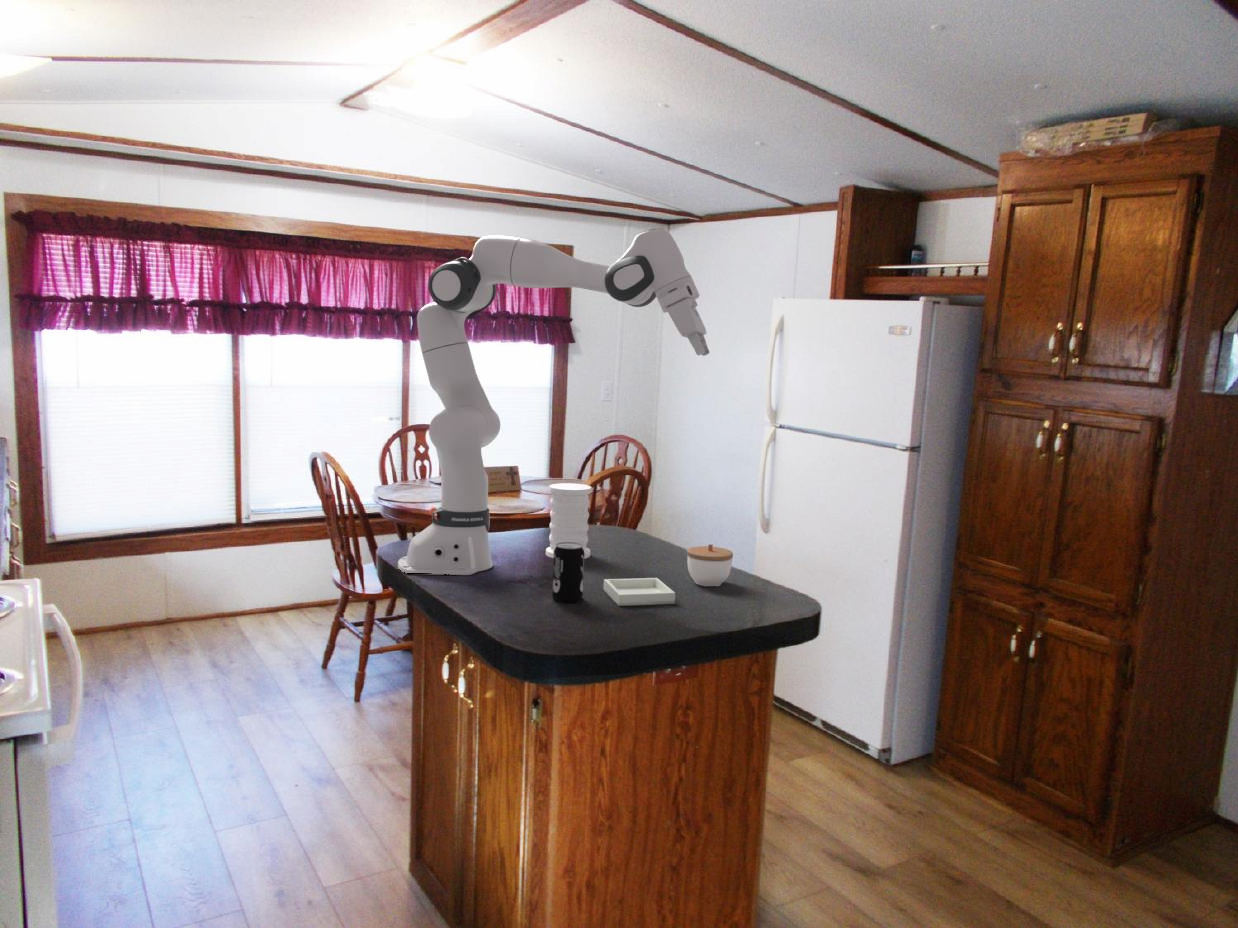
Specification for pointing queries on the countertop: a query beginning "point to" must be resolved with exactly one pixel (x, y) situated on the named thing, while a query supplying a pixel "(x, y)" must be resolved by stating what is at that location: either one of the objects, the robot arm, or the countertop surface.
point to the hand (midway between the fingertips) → (703, 354)
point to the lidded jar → (709, 564)
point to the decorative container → (569, 515)
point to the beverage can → (568, 572)
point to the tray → (639, 591)
